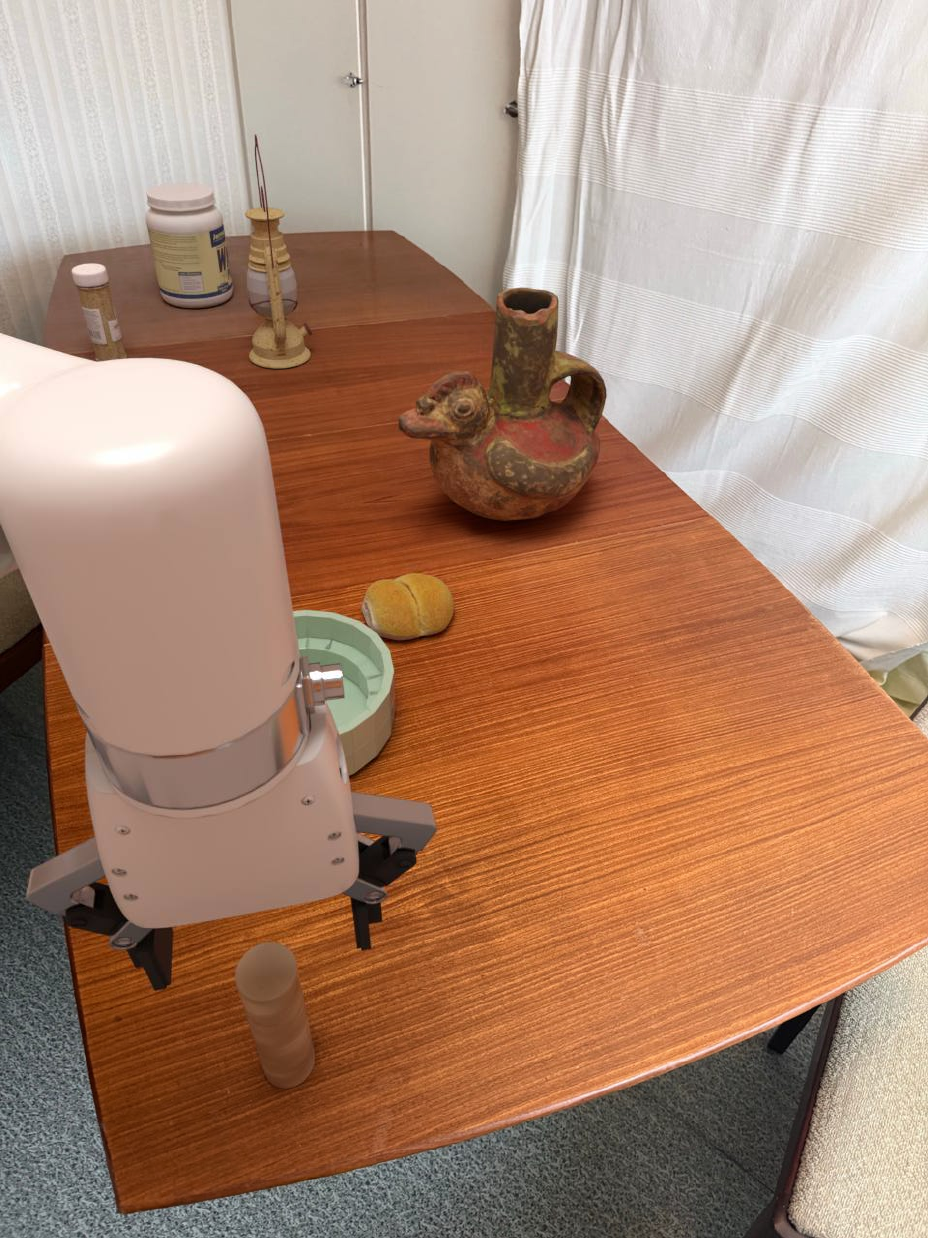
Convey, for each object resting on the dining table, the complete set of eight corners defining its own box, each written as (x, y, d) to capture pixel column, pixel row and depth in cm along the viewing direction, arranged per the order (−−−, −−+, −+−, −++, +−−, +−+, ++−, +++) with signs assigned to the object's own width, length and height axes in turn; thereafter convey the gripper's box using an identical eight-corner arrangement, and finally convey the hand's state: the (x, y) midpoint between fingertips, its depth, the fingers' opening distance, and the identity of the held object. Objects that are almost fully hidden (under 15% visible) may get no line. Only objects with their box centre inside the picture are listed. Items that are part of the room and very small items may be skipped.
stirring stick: (263, 1094, 50) (235, 1006, 42) (261, 1040, 52) (234, 947, 44) (317, 1082, 51) (298, 994, 43) (313, 1029, 53) (294, 936, 45)
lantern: (320, 370, 124) (302, 144, 104) (253, 376, 122) (221, 146, 102) (308, 338, 133) (290, 123, 113) (246, 342, 131) (215, 124, 111)
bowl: (212, 807, 65) (198, 758, 61) (213, 669, 77) (202, 620, 73) (407, 777, 68) (407, 729, 64) (381, 649, 80) (379, 601, 76)
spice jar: (133, 360, 124) (111, 268, 115) (104, 369, 122) (79, 275, 113) (118, 350, 127) (96, 259, 118) (90, 358, 124) (64, 266, 115)
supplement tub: (235, 308, 141) (219, 200, 129) (160, 312, 138) (137, 202, 127) (233, 283, 150) (218, 179, 138) (162, 286, 147) (141, 181, 136)
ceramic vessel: (369, 502, 98) (360, 288, 82) (548, 451, 109) (572, 252, 92) (440, 582, 87) (446, 354, 71) (631, 517, 98) (675, 305, 81)
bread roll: (465, 631, 82) (467, 600, 79) (378, 651, 79) (376, 620, 77) (436, 581, 88) (437, 550, 85) (354, 599, 85) (352, 568, 82)
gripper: (417, 614, 34) (422, 848, 46) (-33, 670, 31) (91, 906, 43) (454, 752, 29) (449, 980, 40) (-87, 836, 26) (72, 1057, 37)
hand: (265, 941), depth 41 cm, fingers open, 9 cm apart
